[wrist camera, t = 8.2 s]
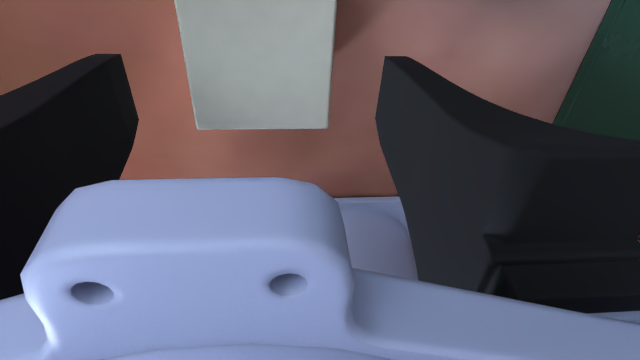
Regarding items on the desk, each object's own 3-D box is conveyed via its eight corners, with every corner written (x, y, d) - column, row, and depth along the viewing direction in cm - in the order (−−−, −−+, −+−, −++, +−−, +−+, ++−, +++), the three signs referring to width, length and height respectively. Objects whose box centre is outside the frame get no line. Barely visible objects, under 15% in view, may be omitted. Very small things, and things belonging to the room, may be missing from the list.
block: (318, 70, 18) (328, 129, 15) (211, 70, 18) (196, 130, 14) (323, -46, 15) (337, -6, 12) (195, -50, 15) (172, -9, 11)
